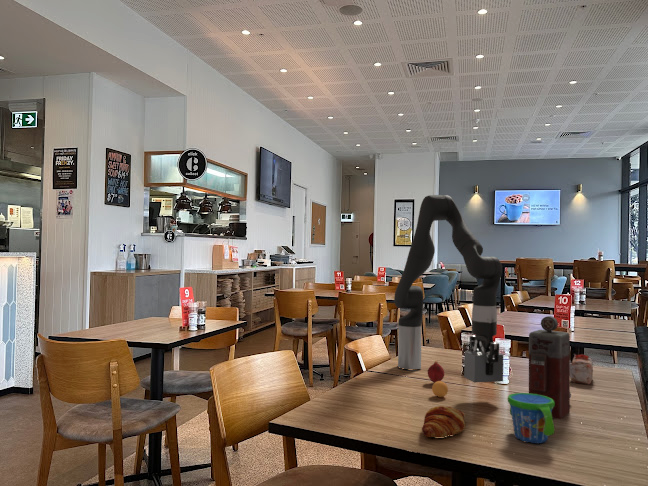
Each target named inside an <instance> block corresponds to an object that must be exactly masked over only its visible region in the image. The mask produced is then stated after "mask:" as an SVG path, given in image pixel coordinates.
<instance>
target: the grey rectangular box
mask: <svg viewBox="0 0 648 486" xmlns="http://www.w3.org/2000/svg"><path fill="white" fill-rule="evenodd" d="M487 353H490V352H487ZM488 358H489V355H488ZM494 358H495V355H494ZM463 361H464V362H463V363H464V365H463V366H464V367H463V368H464V369H463V370H464V372H463V373H464V375H463V377H464V378H465V379H467V380H469V381H471V382H472V383H493V382H495V383H496V382H503V381H504V354H502V353H500V352H499V357H498V362H495V363H494V364H493V375H486V356H485V355H483V353H482V351H477V352H475V351H474V350H473V351H470V350H466V351H464V360H463Z"/></svg>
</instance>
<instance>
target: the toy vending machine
mask: <svg viewBox="0 0 648 486" xmlns="http://www.w3.org/2000/svg"><path fill="white" fill-rule="evenodd" d="M558 323H559V322H558V320H557V319H556V317H554V316H551V315H550V316H549V315H548V316H543V317H542V319H541V321H540V327H541V328H542V329H537V330H534V331H532V332H529V334H528V393H531V394H538V395H543V396H547V397H549V398H551V399H553V401H554V402H555V405H554V407H553V409H552V413H551V414H552V418H553V417H554V419H557V418H558V420H561V418H562V419H563V418H564V417H565V415H566V416H567V415H569V413H570V407H571V406H570V403H571V402H570V401H571V400H570V399H571V397H570V393H571V391H570V387H571V385H570V381H571V378H570V360H571V359H570V357H571V356H570V354H571V353H570V352H571V351H570V347H571V346H570V343H571V342H570V339H571V338H570V333H569V332H567V331H559V330H556V329H557V328H558V326H559V324H558Z"/></svg>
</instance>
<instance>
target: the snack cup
mask: <svg viewBox="0 0 648 486" xmlns="http://www.w3.org/2000/svg"><path fill="white" fill-rule="evenodd" d="M507 402H508V403H509V414H510V415H511V420H512V426H513V433H514V437H515V436H516V437H515V438H516V439H518V440H519V439H520V440H519V441H523V442H524V441H526V442H525V443H528V442H531V443H530V444H539V443H540V444H543V443H546V442H547V441H548V439H549V437H550V436H552V435H554V434H555V425H554V421H553V417H552V414H551V413H552V409H553V407H554V405H555V402H554V401H553V399H551V398H549V397H547V396H543V395H538V394H531V393H529V392H517V393H511V394H509V395H508V396H507Z"/></svg>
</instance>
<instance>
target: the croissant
mask: <svg viewBox="0 0 648 486" xmlns="http://www.w3.org/2000/svg"><path fill="white" fill-rule="evenodd" d="M465 416H466V415H465V413H464V411H461V410H459V409H457V408H453V407H451V406H445V405H439V406H438V405H437V406H434V407H431V408H430V409H429V410H427V412H426V413H425V415H424V418H423V426H422V427H421V431H422V434H423V435H424V437H426V436H427V437H426V438H428V437H445V436H448V435H449V436H450V435H455V434H456V435H458V434H460V433H461V432H463V431H464V430H465V427H466V423H465V419H466V418H465ZM459 432H460V433H459ZM457 433H458V434H457ZM456 435H455V436H456Z"/></svg>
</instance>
